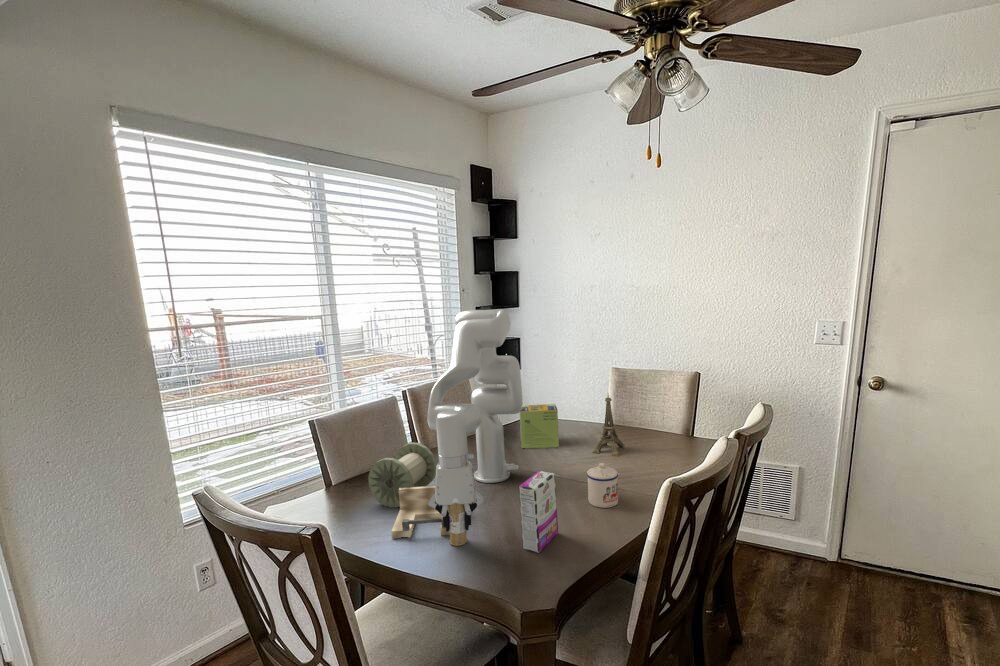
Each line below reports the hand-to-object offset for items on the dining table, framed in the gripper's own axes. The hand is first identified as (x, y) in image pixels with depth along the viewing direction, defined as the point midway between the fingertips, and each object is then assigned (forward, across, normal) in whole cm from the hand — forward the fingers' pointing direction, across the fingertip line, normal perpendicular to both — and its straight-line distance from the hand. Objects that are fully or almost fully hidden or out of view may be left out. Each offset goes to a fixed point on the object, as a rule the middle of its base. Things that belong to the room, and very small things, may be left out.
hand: (457, 527), depth 125 cm
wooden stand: (+4, +9, -11) cm, 15 cm away
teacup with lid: (+4, -43, -19) cm, 47 cm away
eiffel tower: (+4, -55, -62) cm, 83 cm away
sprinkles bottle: (+4, 0, 0) cm, 4 cm away
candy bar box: (+4, -21, +2) cm, 21 cm away
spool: (+4, +19, -31) cm, 37 cm away
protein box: (+4, -29, -75) cm, 81 cm away
